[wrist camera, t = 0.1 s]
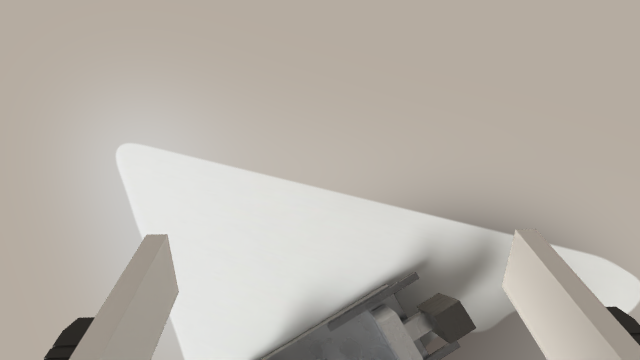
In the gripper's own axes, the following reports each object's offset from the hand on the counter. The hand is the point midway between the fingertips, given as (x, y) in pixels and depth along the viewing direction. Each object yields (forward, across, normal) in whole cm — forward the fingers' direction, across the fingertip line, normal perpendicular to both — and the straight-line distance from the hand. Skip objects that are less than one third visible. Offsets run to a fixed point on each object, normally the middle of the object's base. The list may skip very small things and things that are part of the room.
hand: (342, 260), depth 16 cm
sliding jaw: (+22, -11, +26) cm, 36 cm away
